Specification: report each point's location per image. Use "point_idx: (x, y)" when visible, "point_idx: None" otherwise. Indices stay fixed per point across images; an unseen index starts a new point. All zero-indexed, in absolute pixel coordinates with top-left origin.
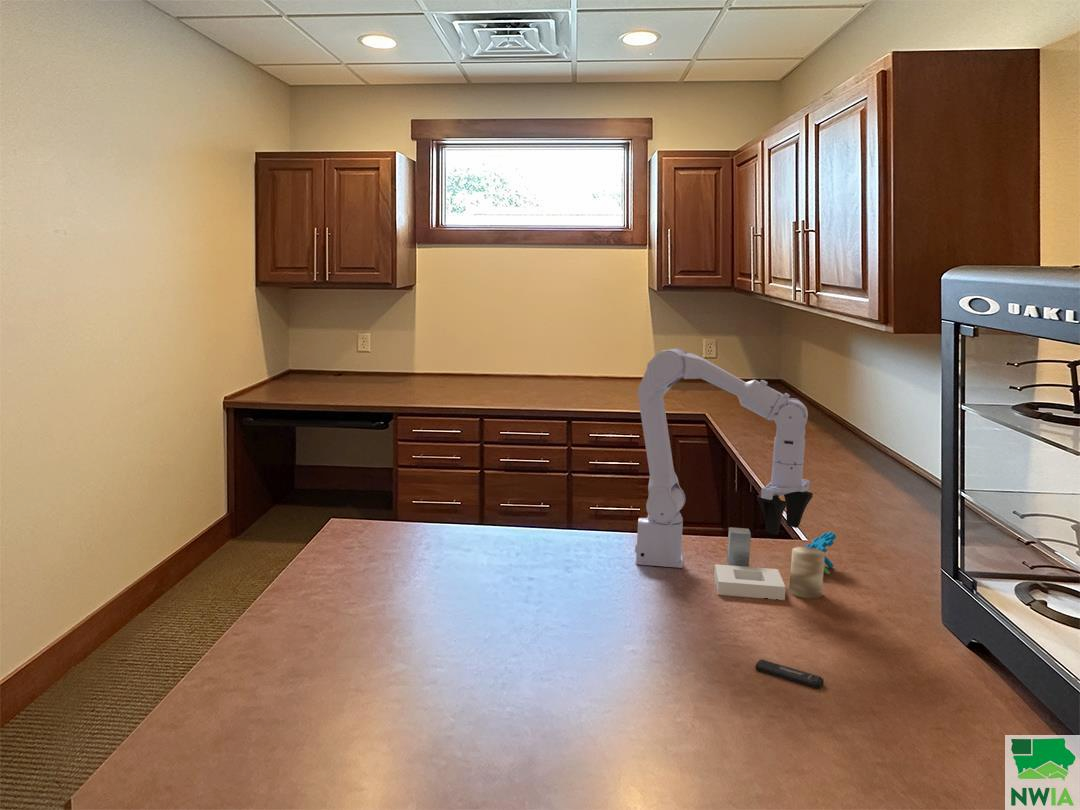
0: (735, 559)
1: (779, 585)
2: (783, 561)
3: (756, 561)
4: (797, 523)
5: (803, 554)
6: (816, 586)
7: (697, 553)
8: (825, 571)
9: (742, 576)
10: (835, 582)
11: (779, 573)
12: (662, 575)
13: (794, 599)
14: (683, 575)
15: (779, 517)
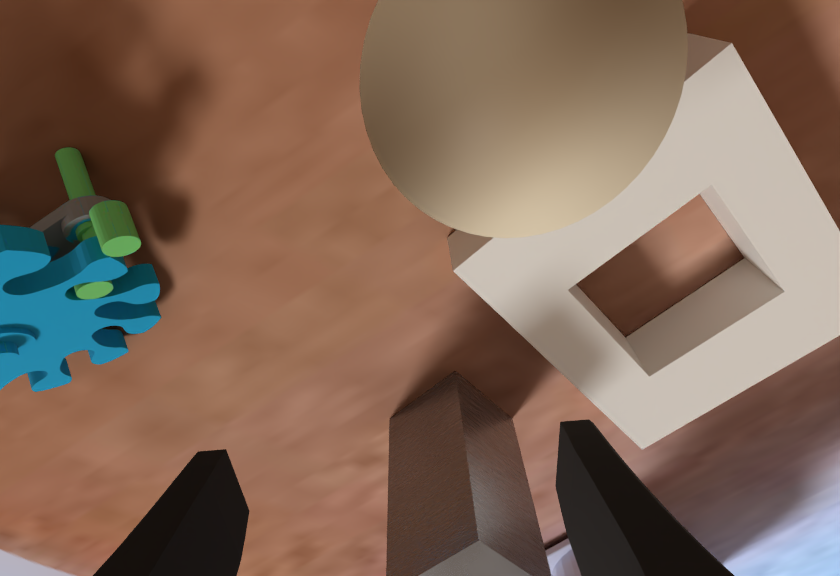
0: (503, 446)
1: (730, 86)
2: (168, 383)
3: (293, 433)
4: (211, 483)
5: (654, 62)
6: None
7: None
8: (84, 167)
9: (612, 328)
10: (135, 38)
11: None
12: (752, 490)
13: None
14: (697, 461)
15: (705, 565)
